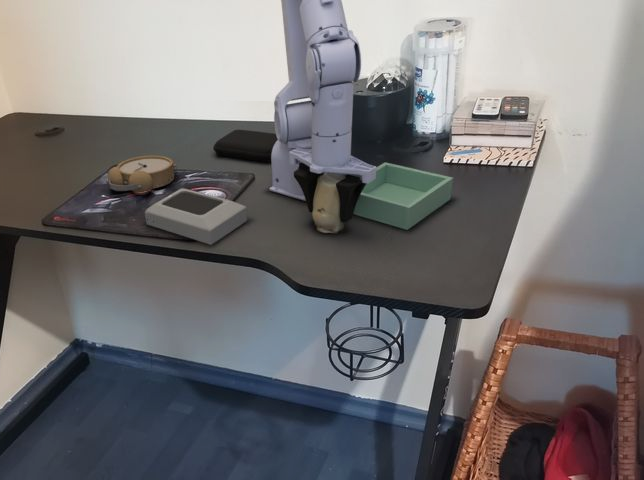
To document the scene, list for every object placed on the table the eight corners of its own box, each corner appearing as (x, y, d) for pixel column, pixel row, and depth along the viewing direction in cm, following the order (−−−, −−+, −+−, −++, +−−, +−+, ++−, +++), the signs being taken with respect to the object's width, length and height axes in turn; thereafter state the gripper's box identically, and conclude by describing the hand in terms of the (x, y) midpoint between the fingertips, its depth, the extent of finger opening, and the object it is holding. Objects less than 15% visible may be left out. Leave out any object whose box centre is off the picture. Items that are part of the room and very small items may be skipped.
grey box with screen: (208, 224, 100) (143, 204, 109) (211, 244, 102) (146, 224, 111) (245, 200, 105) (180, 183, 114) (247, 220, 107) (182, 202, 116)
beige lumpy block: (351, 220, 102) (353, 173, 97) (345, 236, 99) (347, 188, 94) (315, 219, 104) (316, 173, 99) (309, 234, 101) (309, 187, 96)
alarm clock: (184, 158, 125) (138, 175, 114) (185, 183, 127) (139, 202, 117) (140, 153, 131) (91, 168, 120) (141, 176, 133) (94, 194, 122)
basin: (339, 210, 106) (340, 189, 103) (383, 182, 111) (384, 162, 109) (407, 230, 98) (409, 207, 95) (450, 199, 103) (453, 177, 101)
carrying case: (297, 145, 130) (238, 138, 138) (297, 131, 128) (237, 124, 136) (271, 165, 124) (210, 156, 132) (270, 150, 122) (208, 142, 130)
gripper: (275, 130, 95) (278, 213, 103) (357, 148, 85) (353, 237, 94) (305, 115, 98) (305, 196, 106) (387, 131, 89) (380, 218, 97)
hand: (329, 214), depth 100 cm, fingers closed on beige lumpy block, 6 cm apart
